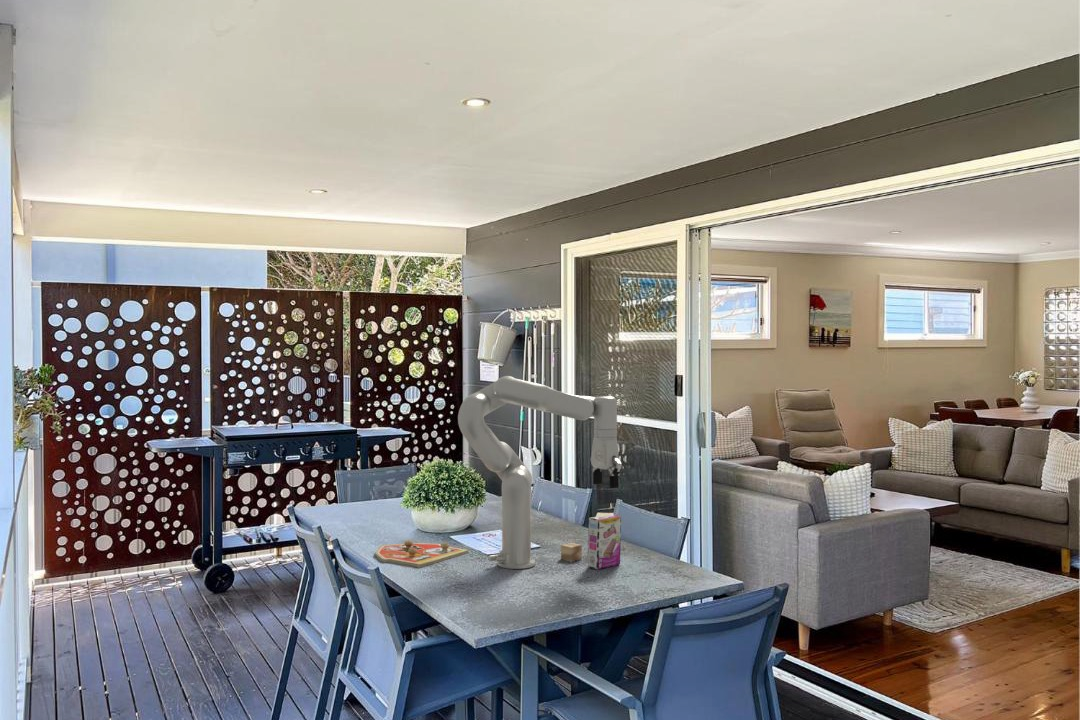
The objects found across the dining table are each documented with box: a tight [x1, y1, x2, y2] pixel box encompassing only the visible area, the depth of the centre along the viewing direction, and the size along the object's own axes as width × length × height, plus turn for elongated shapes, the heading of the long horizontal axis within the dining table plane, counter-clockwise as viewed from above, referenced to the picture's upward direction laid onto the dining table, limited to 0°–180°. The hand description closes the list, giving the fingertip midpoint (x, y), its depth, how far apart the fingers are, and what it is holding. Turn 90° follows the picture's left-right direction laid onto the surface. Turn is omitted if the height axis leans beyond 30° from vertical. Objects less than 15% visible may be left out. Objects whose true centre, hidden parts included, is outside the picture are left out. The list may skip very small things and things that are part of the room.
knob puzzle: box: [374, 539, 469, 569], centre depth 299 cm, size 29×30×4 cm
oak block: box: [560, 542, 583, 562], centre depth 292 cm, size 5×5×5 cm
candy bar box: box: [587, 514, 622, 571], centre depth 283 cm, size 11×5×16 cm, turn 133°
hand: (605, 485), depth 283 cm, fingers open, 9 cm apart
